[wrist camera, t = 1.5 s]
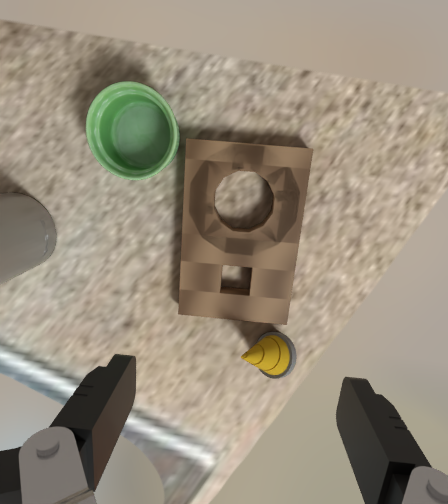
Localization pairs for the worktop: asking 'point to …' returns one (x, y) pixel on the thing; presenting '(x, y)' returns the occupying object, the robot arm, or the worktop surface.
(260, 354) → the drill bit
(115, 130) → the ramekin
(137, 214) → the worktop surface
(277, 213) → the socket board
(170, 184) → the worktop surface
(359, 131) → the worktop surface
